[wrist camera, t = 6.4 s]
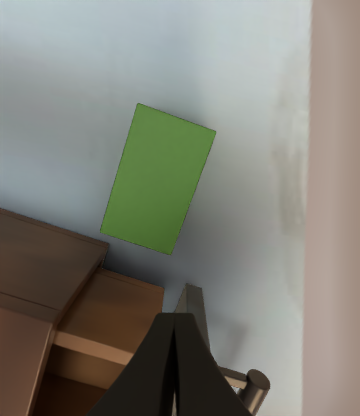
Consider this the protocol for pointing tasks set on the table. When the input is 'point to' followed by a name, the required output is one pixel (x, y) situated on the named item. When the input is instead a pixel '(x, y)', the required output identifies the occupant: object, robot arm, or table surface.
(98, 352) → the drawer
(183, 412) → the robot arm
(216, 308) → the table surface
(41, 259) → the cabinet
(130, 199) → the green rectangular box
